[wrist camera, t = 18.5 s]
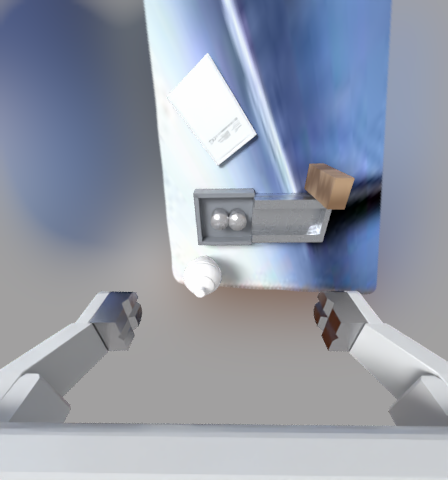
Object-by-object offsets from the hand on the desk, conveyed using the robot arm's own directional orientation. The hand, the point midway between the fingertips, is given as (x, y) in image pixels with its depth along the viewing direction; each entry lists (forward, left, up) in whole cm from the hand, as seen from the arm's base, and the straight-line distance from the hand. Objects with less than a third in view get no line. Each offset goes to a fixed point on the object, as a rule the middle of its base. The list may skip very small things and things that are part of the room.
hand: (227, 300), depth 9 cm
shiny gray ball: (+10, -1, -30) cm, 32 cm away
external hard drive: (-7, -2, -32) cm, 33 cm away
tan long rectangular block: (+2, +16, -31) cm, 35 cm away
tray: (+10, -1, -31) cm, 33 cm away
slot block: (+10, +12, -31) cm, 35 cm away
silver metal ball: (+10, +2, -30) cm, 32 cm away
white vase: (+20, -5, -31) cm, 37 cm away
